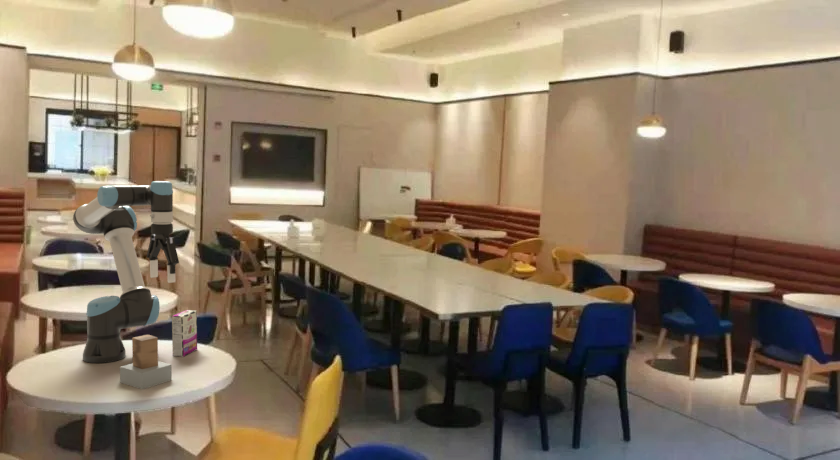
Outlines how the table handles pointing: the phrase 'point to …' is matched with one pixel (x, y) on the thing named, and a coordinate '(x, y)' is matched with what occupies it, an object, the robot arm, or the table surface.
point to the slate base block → (145, 375)
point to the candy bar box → (184, 333)
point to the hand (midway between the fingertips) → (162, 279)
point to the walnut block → (145, 351)
